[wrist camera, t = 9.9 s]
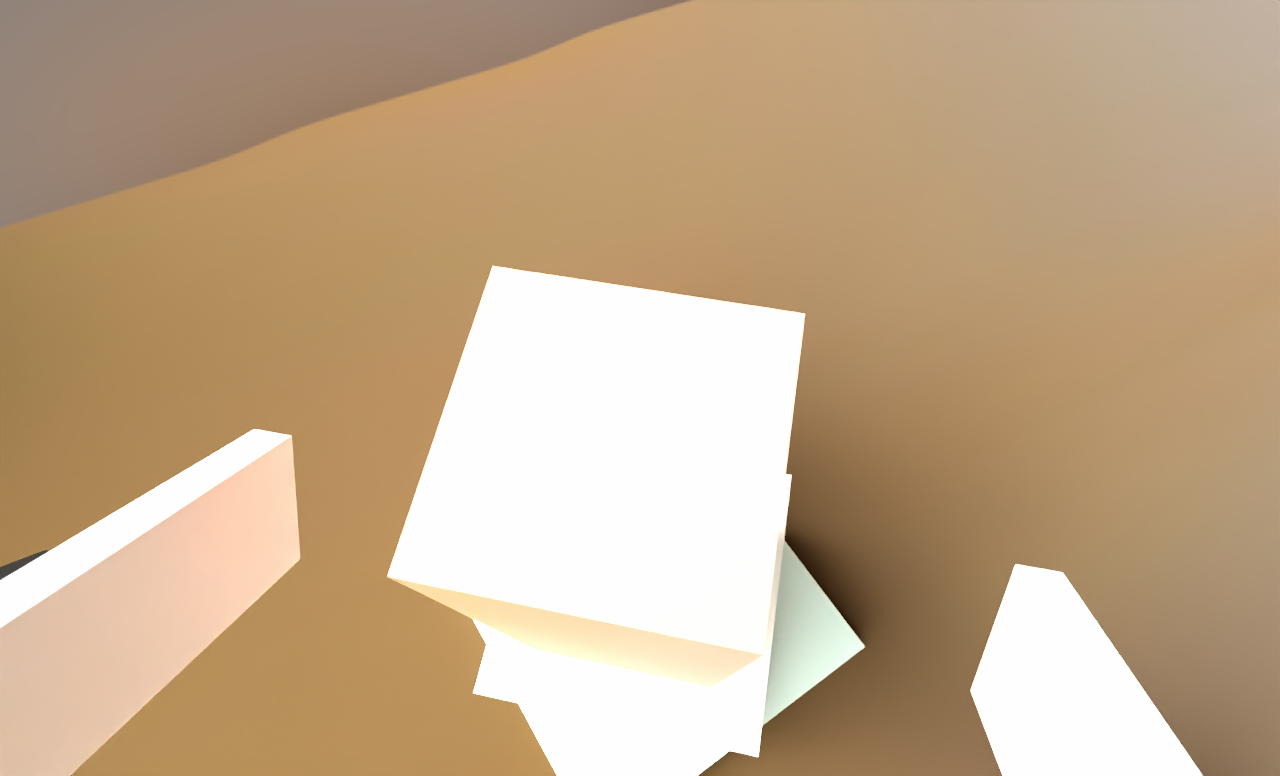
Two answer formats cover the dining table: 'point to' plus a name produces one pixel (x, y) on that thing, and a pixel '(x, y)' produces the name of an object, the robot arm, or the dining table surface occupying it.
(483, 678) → the base brick
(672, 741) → the plate
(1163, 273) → the dining table surface
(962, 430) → the dining table surface
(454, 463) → the tall brick
